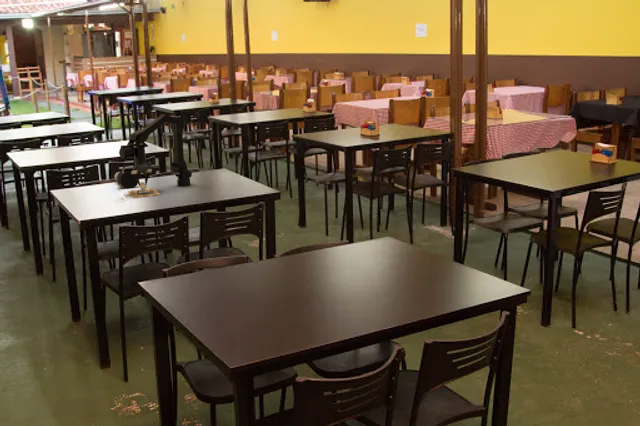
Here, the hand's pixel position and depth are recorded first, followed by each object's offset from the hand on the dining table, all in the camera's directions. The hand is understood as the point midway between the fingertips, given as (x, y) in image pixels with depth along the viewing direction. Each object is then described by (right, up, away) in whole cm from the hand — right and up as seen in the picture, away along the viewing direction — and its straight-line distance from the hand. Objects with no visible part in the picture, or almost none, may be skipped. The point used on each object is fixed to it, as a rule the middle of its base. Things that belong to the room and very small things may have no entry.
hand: (142, 185), depth 367 cm
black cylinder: (-19, +1, +33) cm, 38 cm away
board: (+1, -6, 0) cm, 6 cm away
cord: (0, 0, 0) cm, 0 cm away
